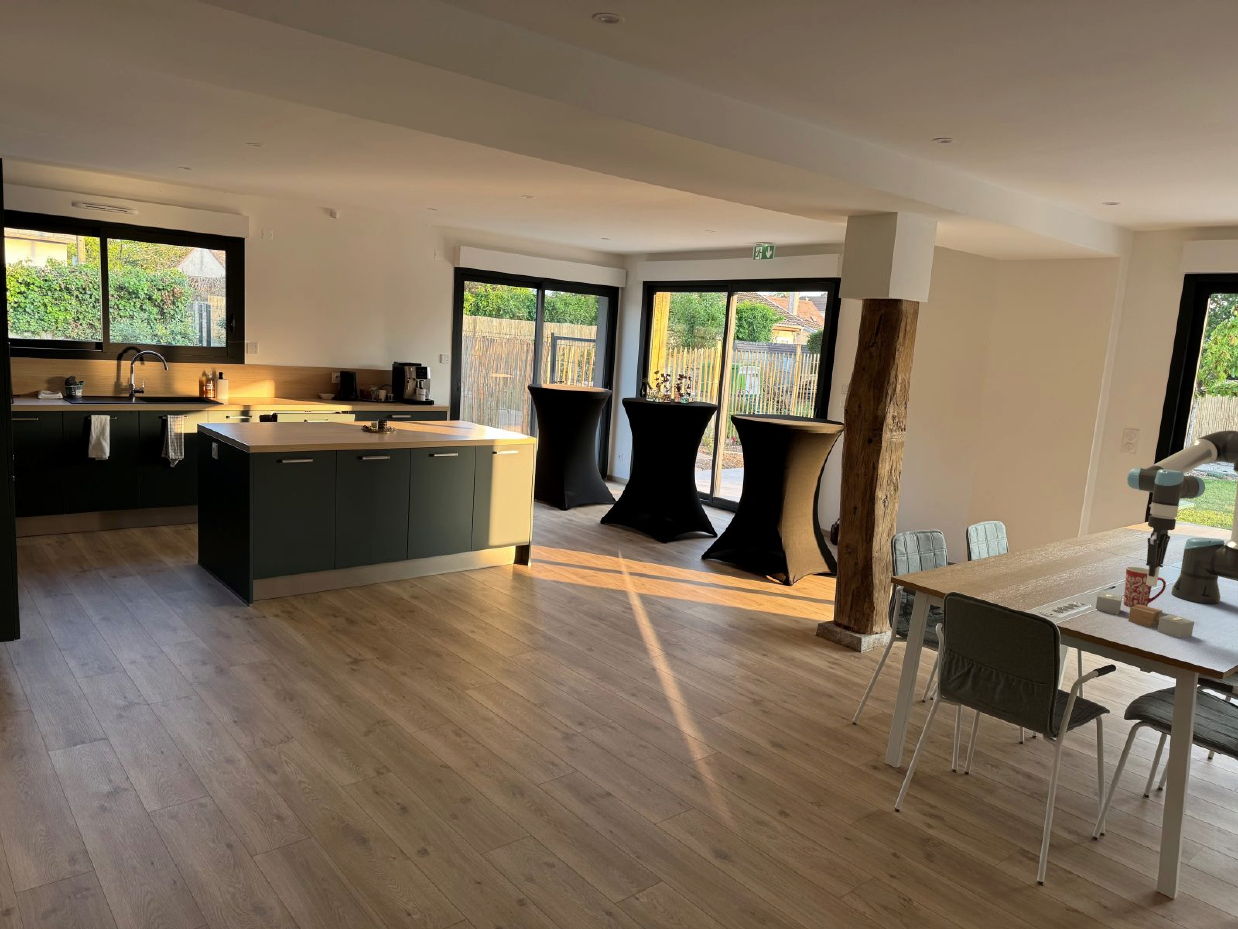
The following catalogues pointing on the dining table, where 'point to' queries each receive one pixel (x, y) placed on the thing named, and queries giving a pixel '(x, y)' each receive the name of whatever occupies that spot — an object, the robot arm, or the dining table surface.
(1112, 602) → the marked block
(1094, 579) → the dining table surface
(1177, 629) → the marked block
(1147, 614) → the walnut block
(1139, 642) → the dining table surface
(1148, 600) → the mug
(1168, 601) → the dining table surface
